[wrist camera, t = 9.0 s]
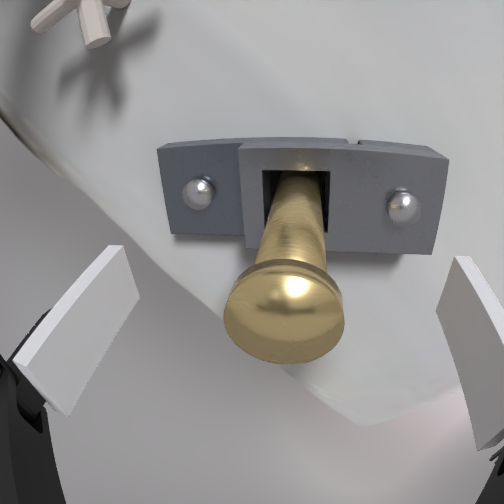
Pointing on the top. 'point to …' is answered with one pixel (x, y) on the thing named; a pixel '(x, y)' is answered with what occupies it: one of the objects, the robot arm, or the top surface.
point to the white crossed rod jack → (80, 18)
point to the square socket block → (336, 196)
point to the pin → (288, 282)
